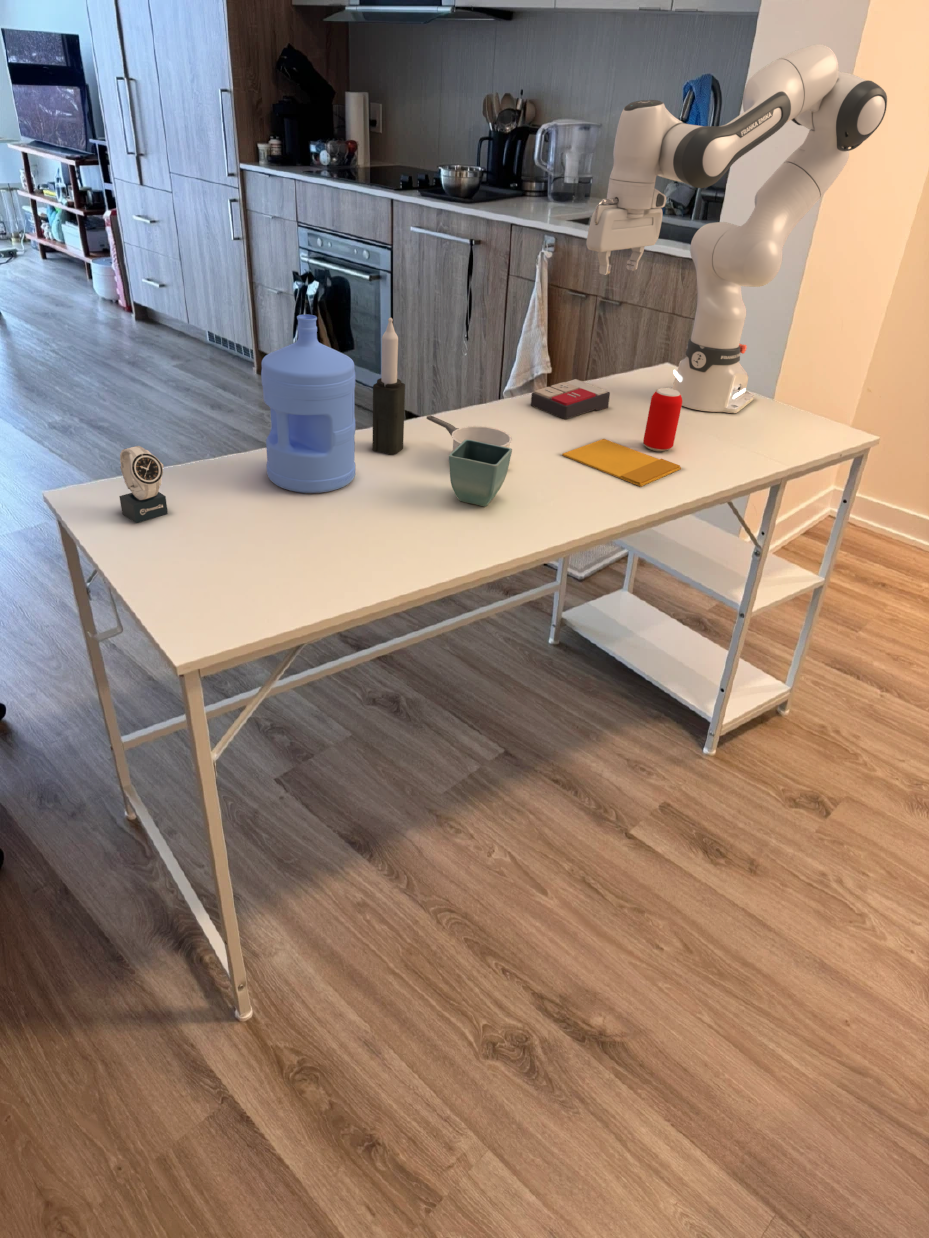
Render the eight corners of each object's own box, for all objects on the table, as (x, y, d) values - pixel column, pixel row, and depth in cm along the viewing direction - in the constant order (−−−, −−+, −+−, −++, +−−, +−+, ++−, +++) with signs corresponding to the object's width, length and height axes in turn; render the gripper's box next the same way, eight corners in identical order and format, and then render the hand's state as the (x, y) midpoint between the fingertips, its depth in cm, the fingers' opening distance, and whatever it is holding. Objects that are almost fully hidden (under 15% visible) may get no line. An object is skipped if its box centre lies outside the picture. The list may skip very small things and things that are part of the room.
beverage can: (644, 440, 182) (654, 384, 176) (673, 445, 181) (685, 389, 174) (640, 450, 177) (651, 393, 171) (670, 455, 176) (682, 398, 169)
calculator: (530, 389, 194) (575, 376, 203) (529, 408, 197) (573, 394, 205) (566, 403, 188) (611, 389, 196) (564, 422, 190) (609, 407, 199)
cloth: (603, 440, 181) (604, 437, 180) (680, 469, 170) (681, 466, 170) (561, 455, 172) (562, 452, 172) (640, 486, 161) (641, 483, 161)
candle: (370, 450, 167) (371, 318, 154) (382, 442, 171) (384, 312, 158) (393, 455, 166) (397, 322, 152) (405, 447, 170) (409, 317, 156)
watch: (142, 527, 134) (132, 461, 128) (116, 510, 139) (106, 445, 133) (174, 517, 138) (166, 453, 132) (148, 501, 142) (139, 437, 136)
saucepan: (447, 436, 177) (448, 409, 174) (521, 466, 166) (524, 439, 163) (406, 448, 169) (407, 421, 166) (481, 481, 158) (484, 452, 155)
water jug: (310, 453, 164) (305, 300, 149) (373, 476, 157) (375, 318, 142) (248, 477, 153) (236, 315, 138) (313, 503, 146) (308, 335, 131)
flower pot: (492, 514, 147) (497, 465, 142) (444, 503, 149) (447, 455, 144) (508, 495, 154) (513, 448, 149) (462, 485, 156) (465, 438, 151)
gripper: (611, 201, 159) (600, 280, 166) (671, 197, 172) (658, 270, 179) (584, 196, 163) (574, 273, 170) (645, 193, 175) (633, 265, 183)
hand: (618, 272), depth 175 cm, fingers open, 8 cm apart
